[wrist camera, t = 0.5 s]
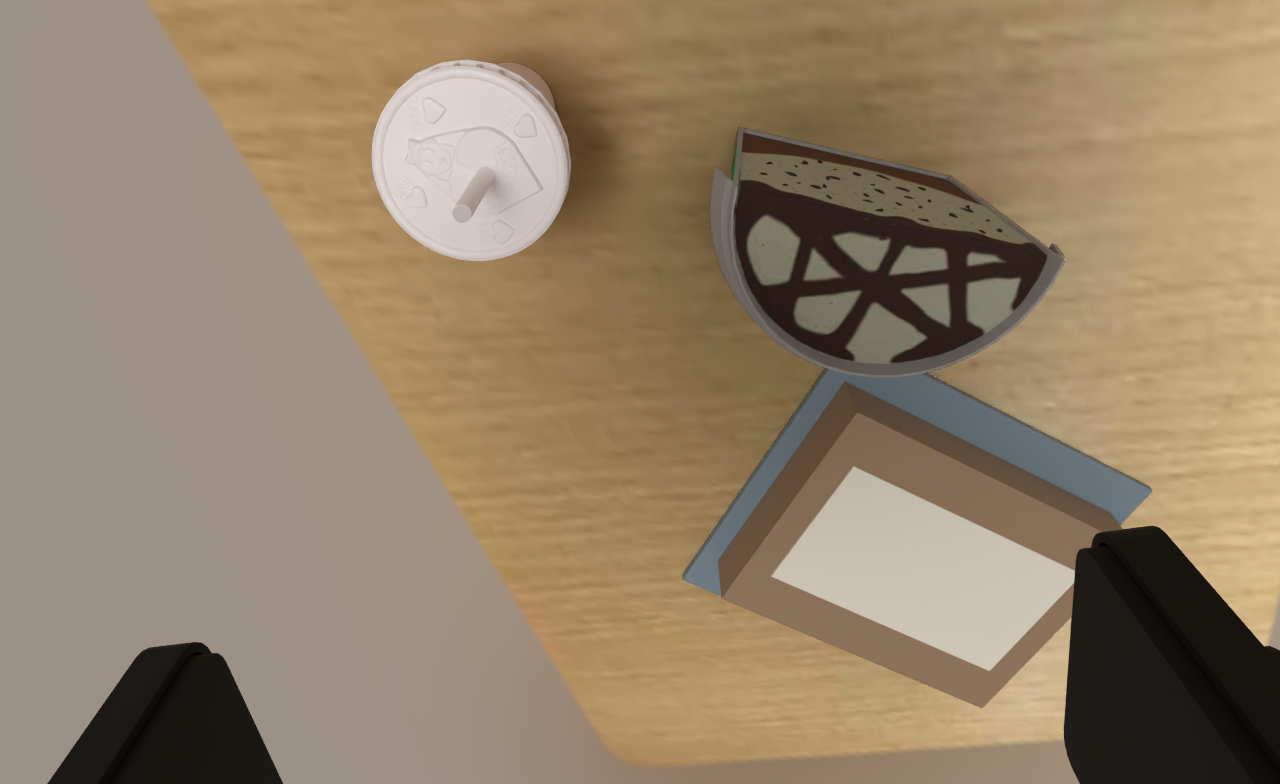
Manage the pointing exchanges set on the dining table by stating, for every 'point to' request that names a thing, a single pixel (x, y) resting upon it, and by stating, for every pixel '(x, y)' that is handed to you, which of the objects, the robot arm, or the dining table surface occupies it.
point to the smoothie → (472, 158)
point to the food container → (869, 258)
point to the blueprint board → (915, 530)
